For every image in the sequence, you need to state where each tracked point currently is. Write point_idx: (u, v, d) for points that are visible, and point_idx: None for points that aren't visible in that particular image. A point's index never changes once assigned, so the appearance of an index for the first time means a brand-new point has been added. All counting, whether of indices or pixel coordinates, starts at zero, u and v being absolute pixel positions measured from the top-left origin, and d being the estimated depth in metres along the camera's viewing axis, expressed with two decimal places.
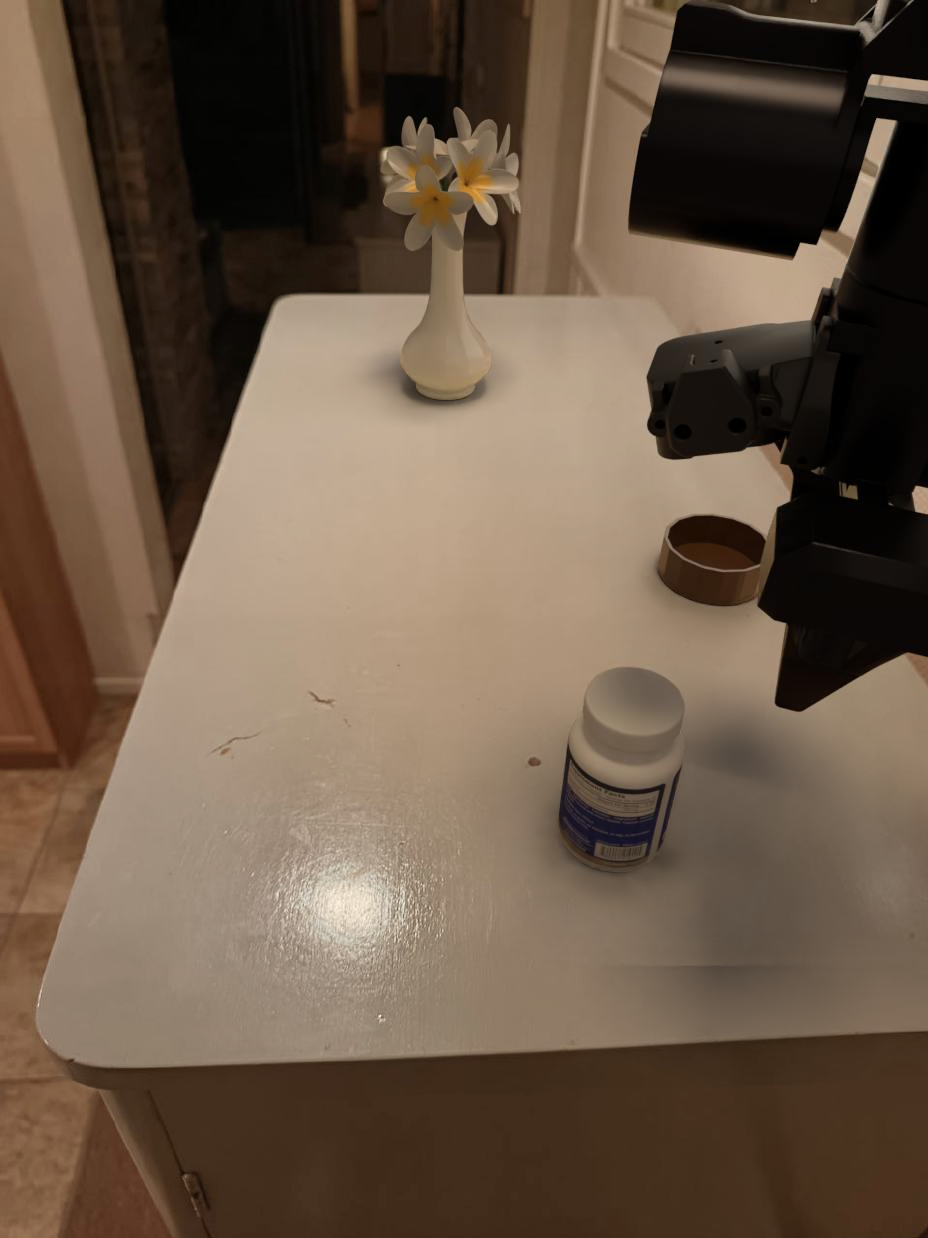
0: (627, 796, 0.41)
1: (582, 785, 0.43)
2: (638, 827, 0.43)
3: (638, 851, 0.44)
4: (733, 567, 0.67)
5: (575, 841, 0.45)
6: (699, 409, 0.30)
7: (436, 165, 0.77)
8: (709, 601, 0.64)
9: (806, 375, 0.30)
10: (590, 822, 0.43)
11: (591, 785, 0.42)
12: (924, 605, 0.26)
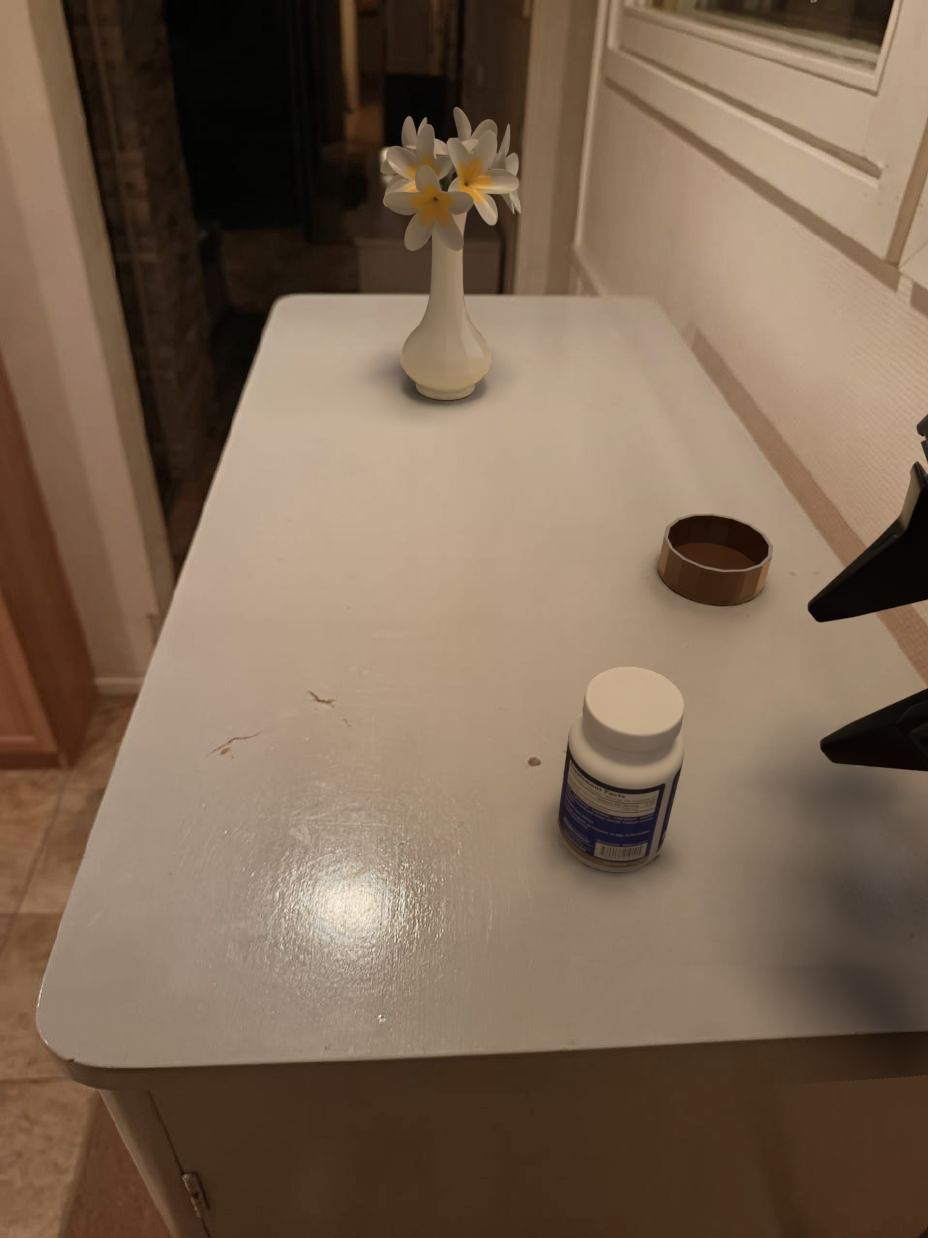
0: (627, 796, 0.41)
1: (582, 785, 0.43)
2: (638, 827, 0.43)
3: (638, 851, 0.44)
4: (733, 567, 0.67)
5: (575, 841, 0.45)
6: None
7: (436, 165, 0.77)
8: (709, 601, 0.64)
9: None
10: (590, 822, 0.43)
11: (591, 785, 0.42)
12: None
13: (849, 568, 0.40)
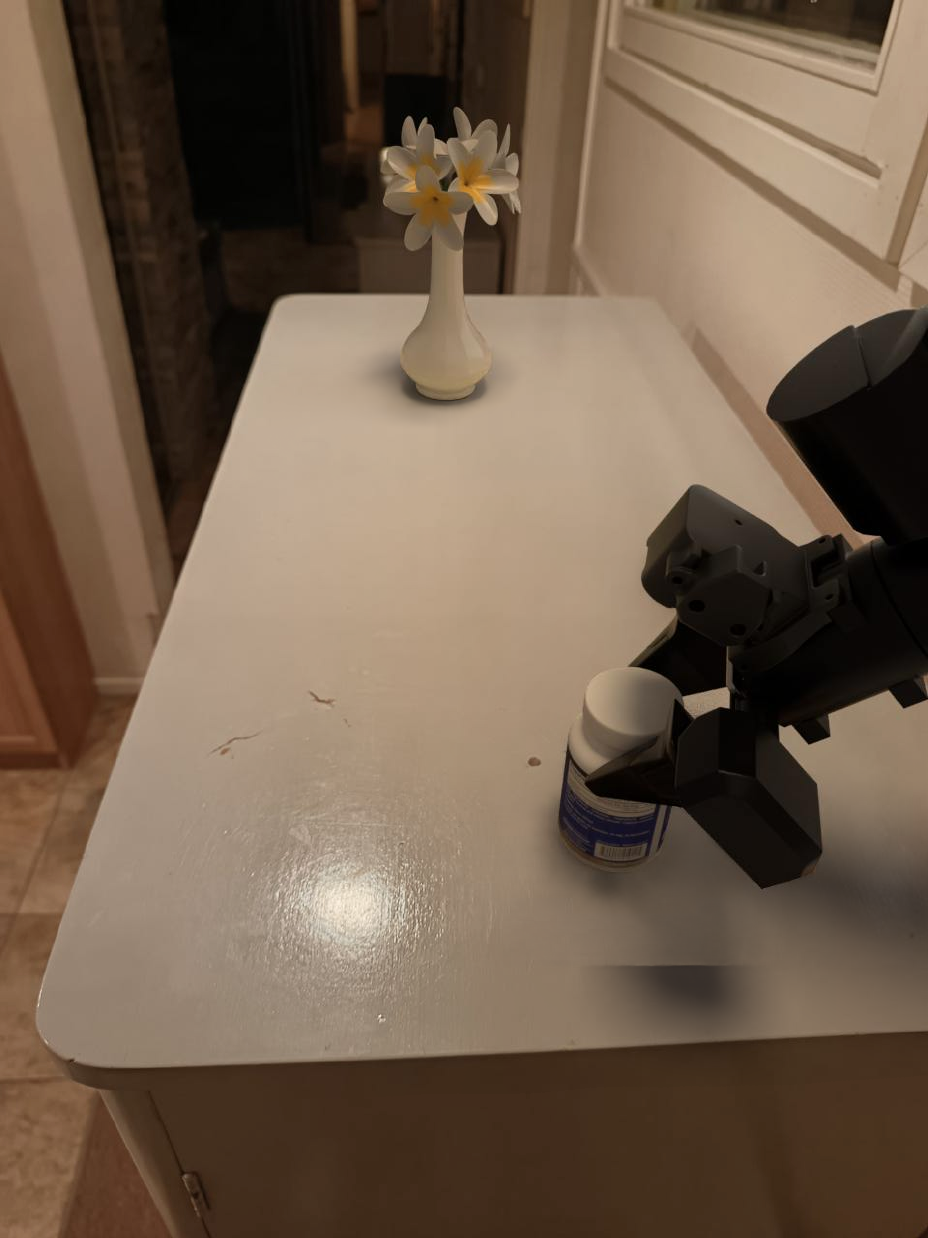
0: None
1: (582, 785, 0.42)
2: (638, 827, 0.43)
3: (638, 851, 0.44)
4: None
5: (575, 841, 0.45)
6: (724, 601, 0.32)
7: (436, 165, 0.77)
8: None
9: (796, 614, 0.34)
10: (590, 822, 0.43)
11: None
12: (787, 857, 0.32)
13: (633, 663, 0.45)
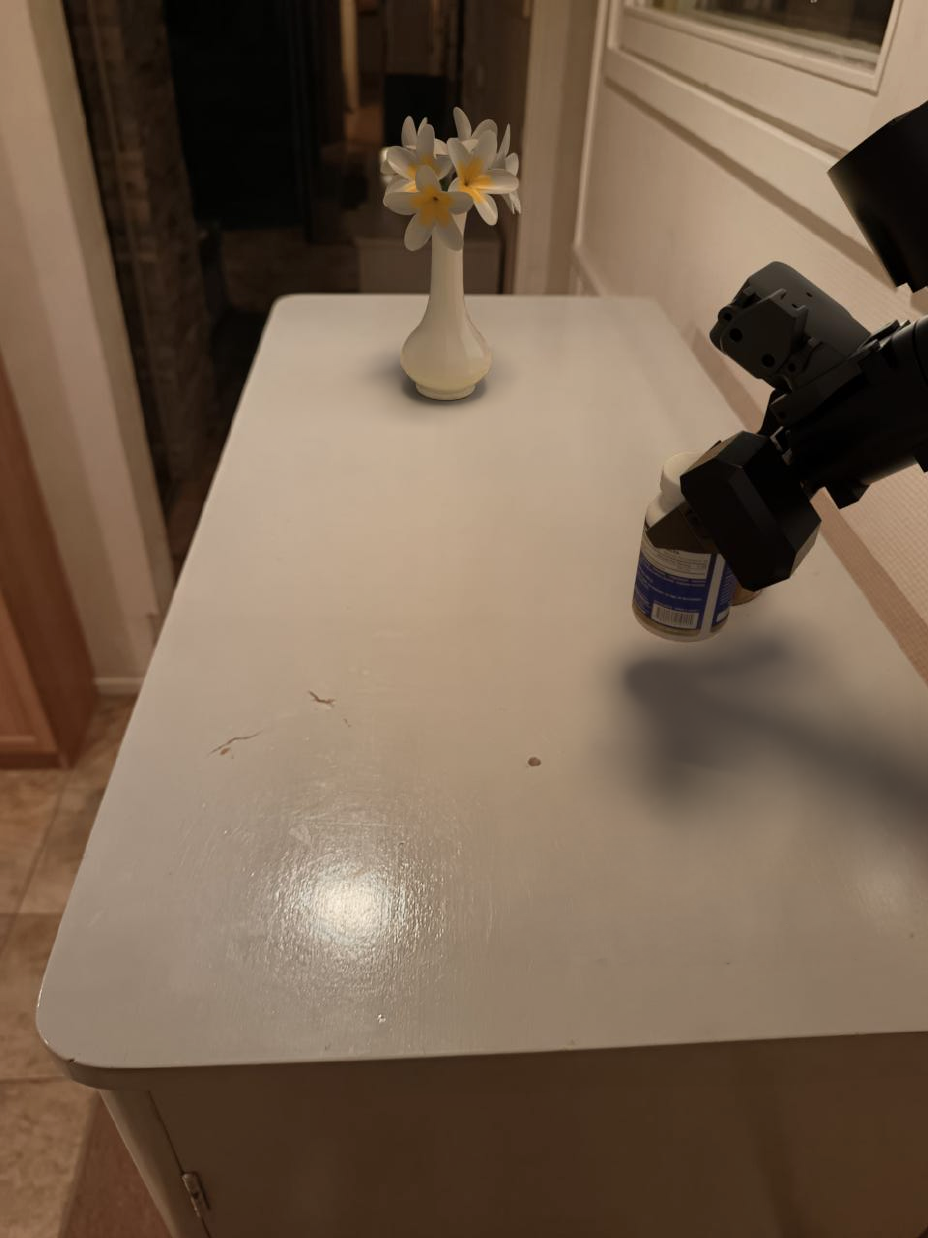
0: (681, 553, 0.47)
1: (648, 543, 0.49)
2: (690, 591, 0.49)
3: (689, 619, 0.50)
4: None
5: (639, 604, 0.52)
6: (757, 330, 0.38)
7: (436, 165, 0.77)
8: None
9: (833, 366, 0.39)
10: (650, 581, 0.50)
11: None
12: (762, 550, 0.37)
13: None
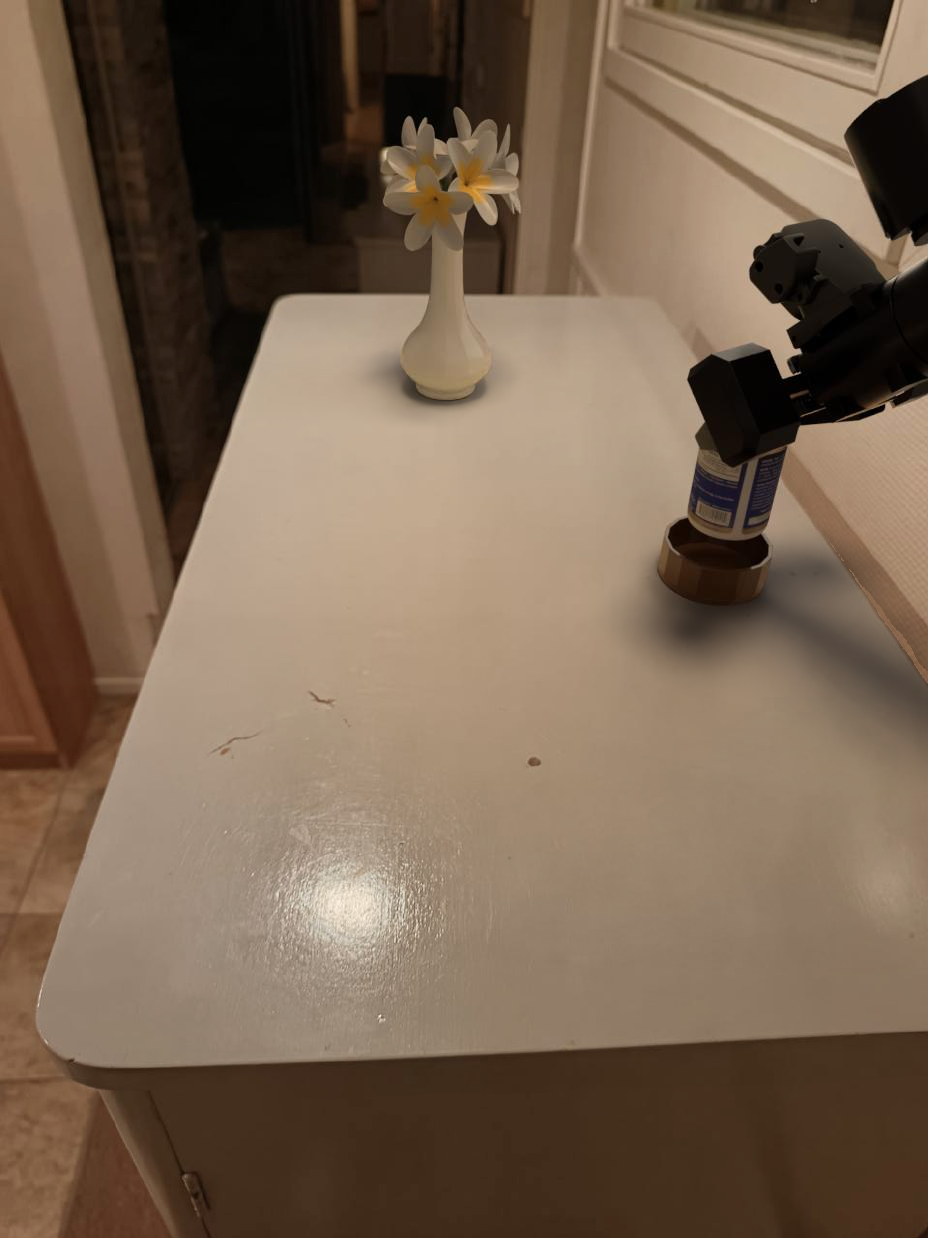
0: None
1: None
2: (724, 491, 0.59)
3: (723, 517, 0.60)
4: (733, 567, 0.67)
5: (689, 502, 0.63)
6: (773, 263, 0.48)
7: (436, 165, 0.77)
8: (709, 601, 0.64)
9: (835, 300, 0.48)
10: (697, 480, 0.61)
11: None
12: (735, 429, 0.48)
13: None
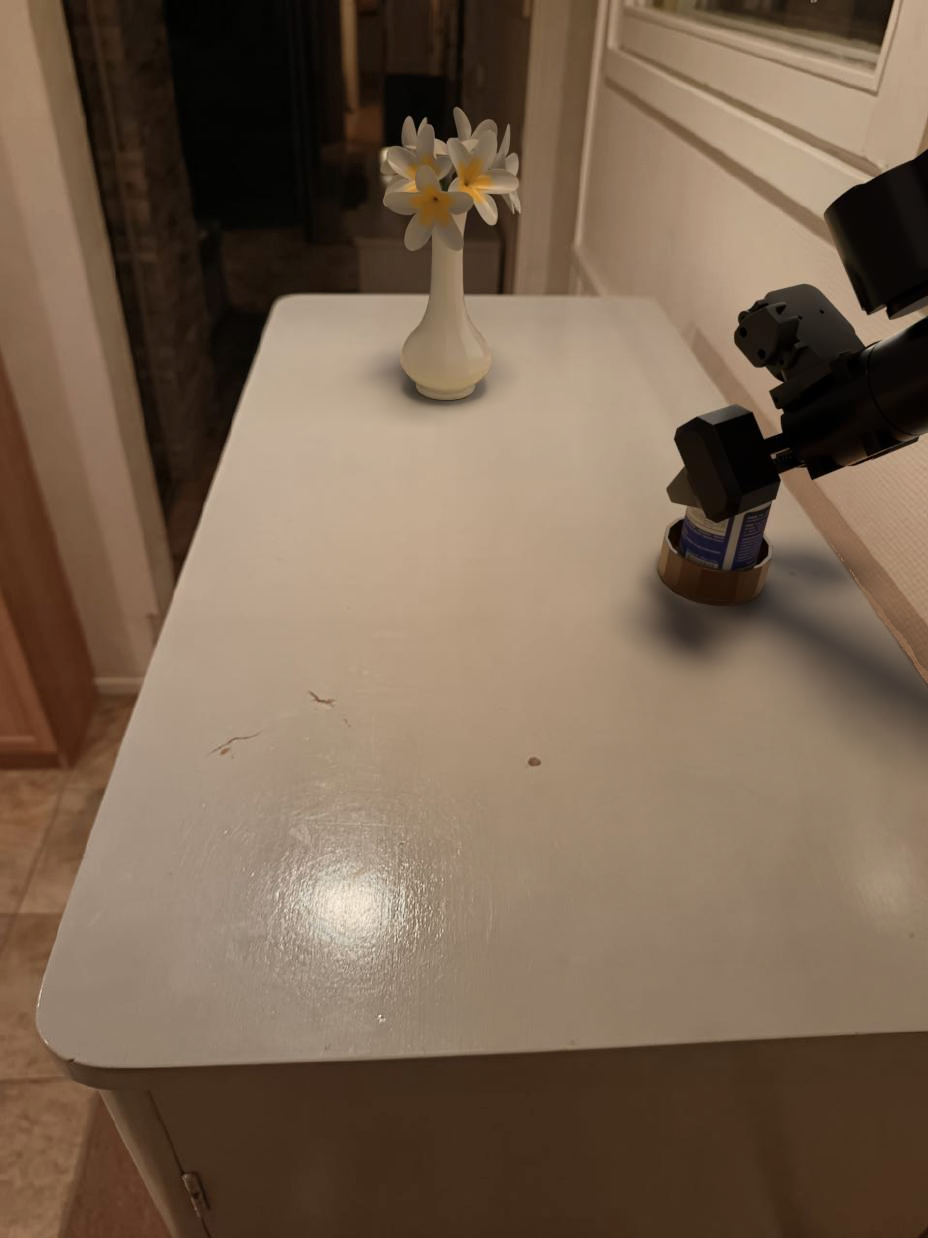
0: None
1: None
2: (711, 544, 0.62)
3: None
4: None
5: (678, 552, 0.65)
6: (756, 330, 0.51)
7: (436, 165, 0.77)
8: (709, 601, 0.64)
9: (814, 366, 0.51)
10: (686, 532, 0.64)
11: None
12: (719, 489, 0.51)
13: None
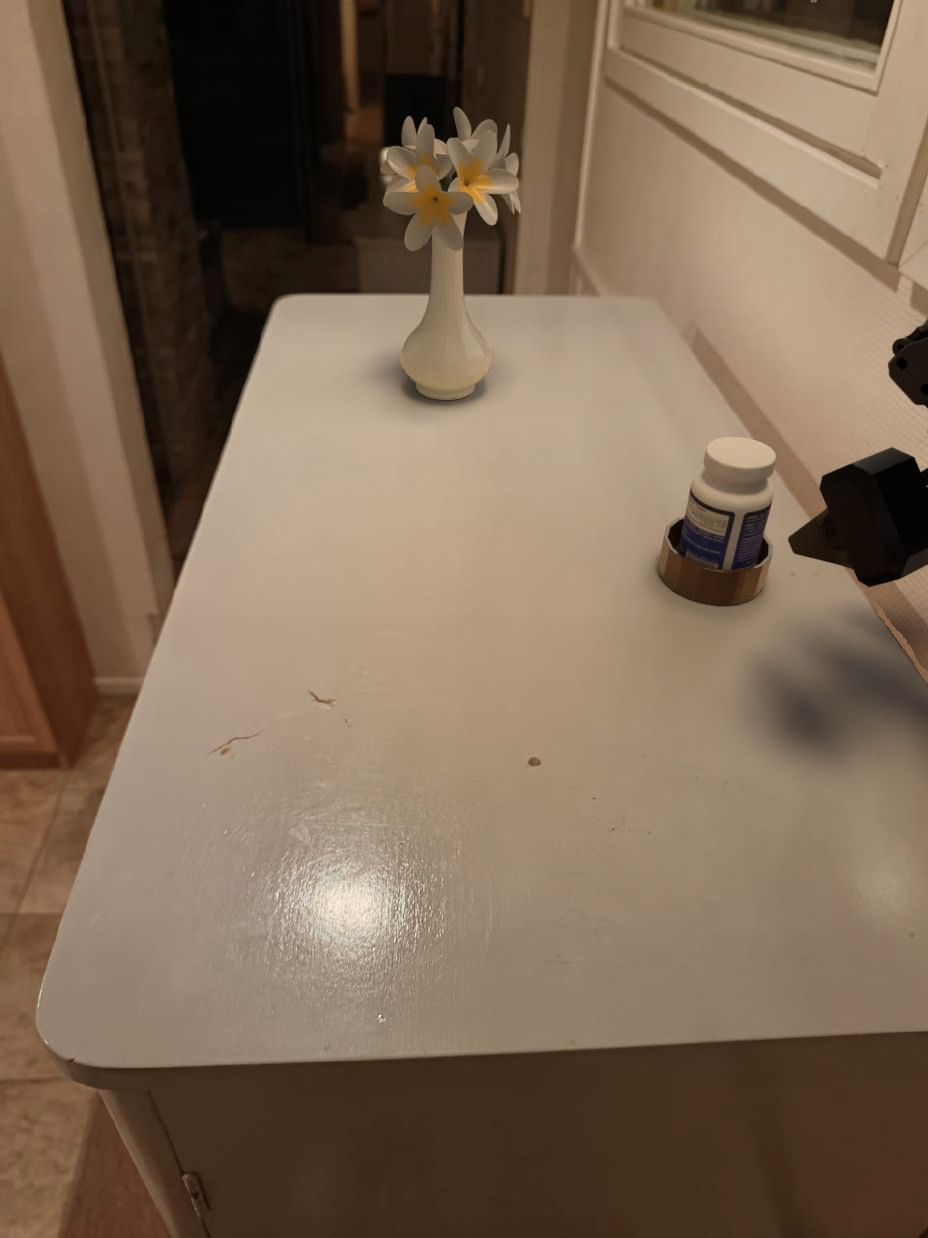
0: (706, 511, 0.61)
1: (688, 502, 0.63)
2: (711, 544, 0.62)
3: None
4: None
5: (678, 552, 0.65)
6: (920, 361, 0.43)
7: (436, 165, 0.77)
8: (709, 601, 0.64)
9: None
10: (686, 532, 0.64)
11: (691, 500, 0.62)
12: (878, 549, 0.43)
13: None
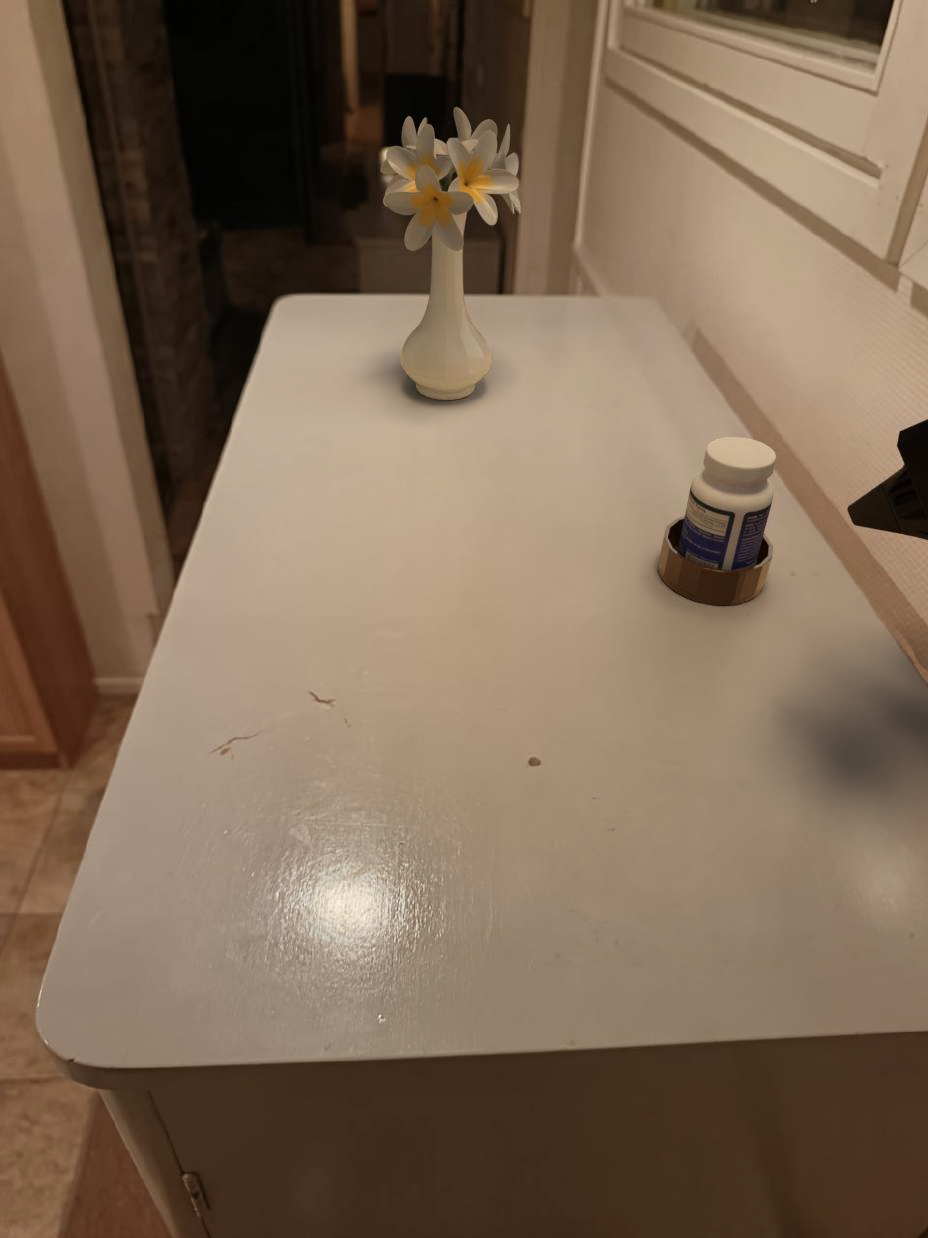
0: (706, 511, 0.61)
1: (688, 502, 0.63)
2: (711, 544, 0.62)
3: None
4: None
5: (678, 552, 0.65)
6: None
7: (436, 165, 0.77)
8: (709, 601, 0.64)
9: None
10: (686, 532, 0.64)
11: (691, 500, 0.62)
12: None
13: None
